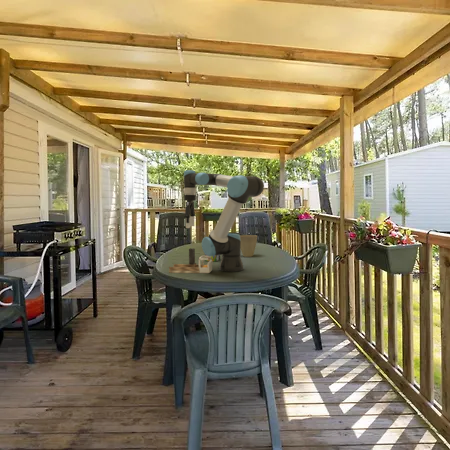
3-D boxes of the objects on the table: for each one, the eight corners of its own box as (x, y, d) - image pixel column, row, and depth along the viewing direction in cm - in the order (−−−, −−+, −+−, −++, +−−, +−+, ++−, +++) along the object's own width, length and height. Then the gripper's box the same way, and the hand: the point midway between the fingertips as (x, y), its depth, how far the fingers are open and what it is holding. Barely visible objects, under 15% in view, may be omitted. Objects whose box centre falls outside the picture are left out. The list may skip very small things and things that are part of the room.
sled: (196, 267, 224) (196, 248, 223) (194, 269, 218) (193, 249, 217) (190, 267, 225) (189, 248, 224) (187, 269, 219) (187, 249, 218)
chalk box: (209, 259, 265) (208, 239, 264) (220, 259, 262) (220, 239, 261) (204, 261, 256) (204, 240, 255) (216, 261, 253) (216, 241, 252)
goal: (212, 269, 225) (212, 255, 224) (209, 273, 215) (209, 258, 214) (202, 269, 226) (201, 255, 225) (198, 272, 216) (198, 258, 215)
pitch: (203, 269, 227) (203, 264, 226) (199, 273, 215) (199, 268, 215) (174, 268, 229) (174, 263, 229) (168, 272, 218) (168, 267, 217)
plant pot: (239, 254, 285) (239, 234, 284) (258, 254, 282) (258, 235, 281) (236, 257, 271) (236, 236, 269) (256, 258, 268) (256, 236, 267)
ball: (209, 265, 222) (203, 263, 222) (208, 266, 218) (202, 264, 218) (208, 271, 222) (202, 270, 223) (207, 272, 218) (201, 271, 219)
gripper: (188, 194, 244) (188, 225, 245) (179, 194, 219) (180, 228, 221) (199, 194, 243) (199, 225, 244) (191, 194, 218) (192, 228, 220)
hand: (190, 227), depth 233 cm, fingers open, 13 cm apart
